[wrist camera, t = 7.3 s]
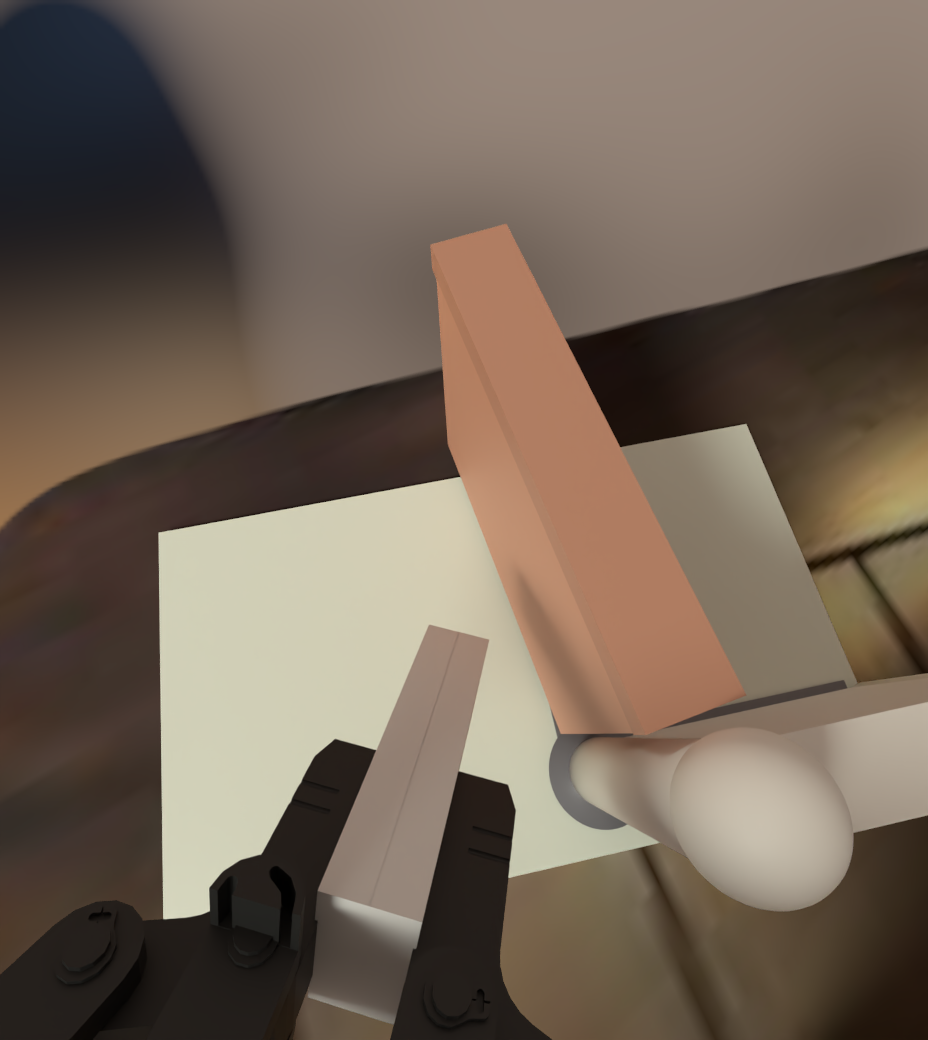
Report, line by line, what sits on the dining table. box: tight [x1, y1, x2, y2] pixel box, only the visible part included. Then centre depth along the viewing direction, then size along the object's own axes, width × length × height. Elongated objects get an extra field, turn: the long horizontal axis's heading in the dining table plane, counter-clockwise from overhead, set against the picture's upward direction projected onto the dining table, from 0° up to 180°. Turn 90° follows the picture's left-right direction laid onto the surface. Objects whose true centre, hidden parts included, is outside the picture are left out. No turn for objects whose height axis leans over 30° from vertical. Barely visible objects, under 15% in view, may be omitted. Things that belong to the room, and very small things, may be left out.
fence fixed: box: [569, 673, 928, 911], centre depth 14 cm, size 12×3×13 cm, turn 101°
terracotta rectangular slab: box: [431, 224, 746, 735], centre depth 17 cm, size 12×2×10 cm, turn 20°
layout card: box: [159, 424, 858, 919], centre depth 21 cm, size 25×14×1 cm, turn 101°
